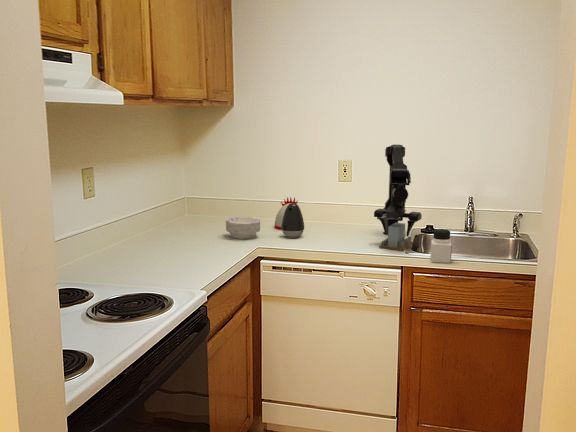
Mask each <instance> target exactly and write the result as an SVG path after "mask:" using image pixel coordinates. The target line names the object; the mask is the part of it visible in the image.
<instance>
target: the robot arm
mask: <svg viewBox="0 0 576 432" xmlns="http://www.w3.org/2000/svg"><path fill="white" fill-rule="evenodd" d="M384 152H385V153H384V158H386V162H387V164H388V165H389V177H388V181H389V182H388V198H387V200H386V201H385V203H384V207H383V208H378V209H375V211H374V212H373V217H374V218H376V219H377V220H378V221H380V223H381V224H382V228H383V232H382V234H384V235H388V228H389V226H391V225H393V224H394V223H399V222H402V221H403V219H404V218H405V219H408V220H407V229H406V238H408V237H410V236H409V235H410V233H411V231H412V228H413V227H414V225H415V223H417V222H419V221H421V220H422V212H420V211H411V212H407V213H406V211H407V210H406V202H407V200H408V198H409V192H408V190H407V189H406V188H407V187H406V186H410V184H411V182H412V179H411V173H410V170H409V169H408V166H407V165H406V163H404V157H405V156H406V147H404V145H403V144H391V145H389V146H386V147H385V150H384Z"/></svg>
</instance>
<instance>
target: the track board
mask: <svg viewBox="0 0 576 432" xmlns="http://www.w3.org/2000/svg"><path fill="white" fill-rule="evenodd" d="M412 245H414V241H412V237H411V236H408V237H405V239H404V240H403V241H401V242H400V243H398V247H395V246H388V237H387V238H385V239H382V241H381V244H380V245H378V248H379V249H382V250H392V251H398V252H404V251H406V250H407V249H408V248H409V247H411V246H412Z"/></svg>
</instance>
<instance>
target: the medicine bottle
mask: <svg viewBox="0 0 576 432" xmlns="http://www.w3.org/2000/svg"><path fill="white" fill-rule="evenodd" d="M432 237H433V239H431V241H430V261H431V263H437V264H438V263H439V264H451V263H452V249H453V248H452V246H453V245H452V242H451V231H450V229H447V228H435V229H434V230H433V236H432Z"/></svg>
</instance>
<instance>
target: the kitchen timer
mask: <svg viewBox="0 0 576 432" xmlns="http://www.w3.org/2000/svg"><path fill="white" fill-rule="evenodd" d="M298 202H299V200H298V199H297V200H296V197H294V198H293V199H292V197H290V198H289V197H288V196H287V197H286V199H283V202H282V201H280V203H281V207H280V208H279V210H278V212H277V214H276V217H275V220H274V229H275V230H277V229H278V231H282V229H281V226H282V219H283V216H284V212H285V210H286V208H287V206H288V205H289V204H291V203H295V204H297V205H298Z"/></svg>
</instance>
